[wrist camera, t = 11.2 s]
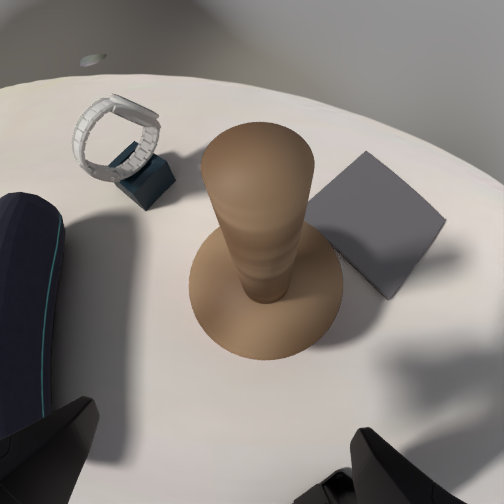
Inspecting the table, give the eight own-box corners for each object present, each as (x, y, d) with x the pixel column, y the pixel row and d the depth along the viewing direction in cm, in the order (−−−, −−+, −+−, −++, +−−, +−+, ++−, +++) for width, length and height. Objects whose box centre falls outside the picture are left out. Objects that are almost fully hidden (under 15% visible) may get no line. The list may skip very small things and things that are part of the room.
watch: (189, 167, 28) (157, 83, 18) (133, 224, 26) (73, 154, 16) (156, 147, 29) (121, 71, 19) (105, 197, 27) (50, 131, 17)
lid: (368, 284, 18) (476, 180, 7) (261, 391, 16) (243, 457, 5) (268, 192, 21) (262, 42, 10) (164, 280, 19) (51, 178, 8)
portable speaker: (31, 229, 27) (-21, 189, 18) (89, 223, 27) (33, 170, 17) (15, 432, 18) (-47, 435, 9) (76, 461, 17) (7, 483, 8)
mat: (443, 221, 24) (445, 219, 24) (387, 300, 22) (389, 299, 21) (365, 153, 27) (366, 150, 27) (296, 214, 25) (296, 211, 25)
